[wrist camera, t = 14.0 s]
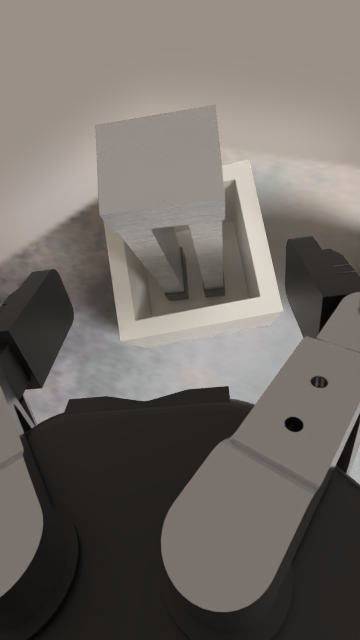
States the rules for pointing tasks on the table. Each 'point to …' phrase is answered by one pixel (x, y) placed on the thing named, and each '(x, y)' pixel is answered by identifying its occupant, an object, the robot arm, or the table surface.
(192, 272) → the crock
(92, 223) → the table surface
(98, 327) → the table surface
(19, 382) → the robot arm
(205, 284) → the grey arch block
